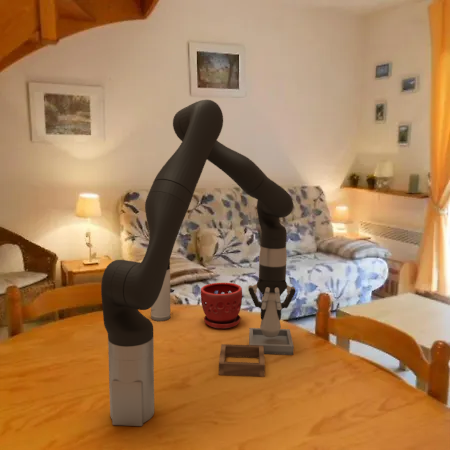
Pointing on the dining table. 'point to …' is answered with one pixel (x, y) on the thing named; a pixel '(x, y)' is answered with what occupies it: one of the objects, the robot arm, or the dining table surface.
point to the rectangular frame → (242, 367)
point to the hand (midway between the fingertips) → (270, 320)
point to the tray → (272, 341)
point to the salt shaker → (270, 318)
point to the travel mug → (162, 300)
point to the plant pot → (221, 304)
